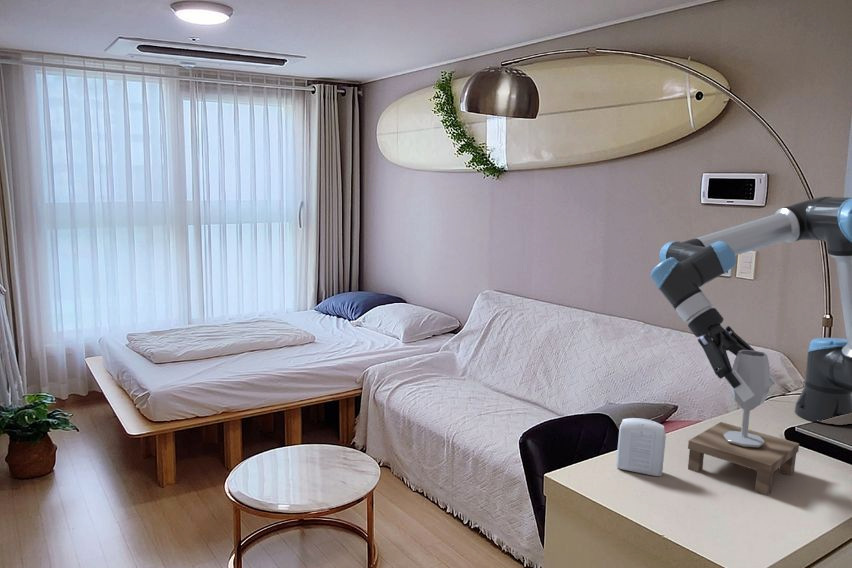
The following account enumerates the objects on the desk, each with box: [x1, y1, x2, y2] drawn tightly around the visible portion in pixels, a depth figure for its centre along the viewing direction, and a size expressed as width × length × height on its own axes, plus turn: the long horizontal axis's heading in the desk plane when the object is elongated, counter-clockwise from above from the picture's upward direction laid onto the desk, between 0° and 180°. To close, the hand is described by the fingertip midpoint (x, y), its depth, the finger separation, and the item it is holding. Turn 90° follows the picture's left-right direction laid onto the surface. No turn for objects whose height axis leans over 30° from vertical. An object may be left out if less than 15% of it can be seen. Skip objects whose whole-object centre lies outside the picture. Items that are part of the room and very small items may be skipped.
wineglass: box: [723, 349, 771, 448], centre depth 153 cm, size 9×9×21 cm
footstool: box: [687, 421, 800, 496], centre depth 155 cm, size 18×18×7 cm
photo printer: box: [615, 417, 667, 477], centre depth 154 cm, size 10×4×12 cm, turn 67°
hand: (760, 392), depth 151 cm, fingers open, 12 cm apart
